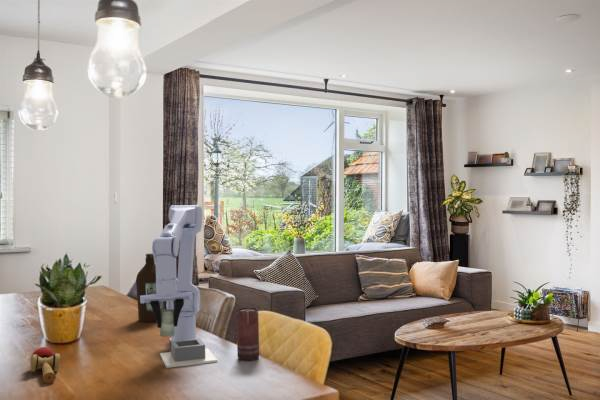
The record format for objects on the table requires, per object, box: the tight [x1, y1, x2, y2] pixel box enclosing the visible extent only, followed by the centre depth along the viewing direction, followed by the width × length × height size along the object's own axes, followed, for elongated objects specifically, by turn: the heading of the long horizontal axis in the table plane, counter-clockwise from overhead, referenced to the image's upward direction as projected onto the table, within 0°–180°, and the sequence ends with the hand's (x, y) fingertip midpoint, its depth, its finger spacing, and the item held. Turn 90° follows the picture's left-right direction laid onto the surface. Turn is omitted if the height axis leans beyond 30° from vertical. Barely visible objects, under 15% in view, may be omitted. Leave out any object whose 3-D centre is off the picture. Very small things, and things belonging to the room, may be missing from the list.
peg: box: [159, 308, 175, 338], centre depth 170 cm, size 4×4×7 cm
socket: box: [159, 338, 218, 369], centre depth 170 cm, size 14×14×4 cm
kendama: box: [29, 346, 61, 384], centre depth 158 cm, size 8×6×18 cm
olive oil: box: [135, 253, 165, 323], centre depth 225 cm, size 11×11×25 cm
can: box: [236, 307, 260, 362], centre depth 169 cm, size 6×6×14 cm
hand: (167, 326), depth 170 cm, fingers closed on peg, 4 cm apart
